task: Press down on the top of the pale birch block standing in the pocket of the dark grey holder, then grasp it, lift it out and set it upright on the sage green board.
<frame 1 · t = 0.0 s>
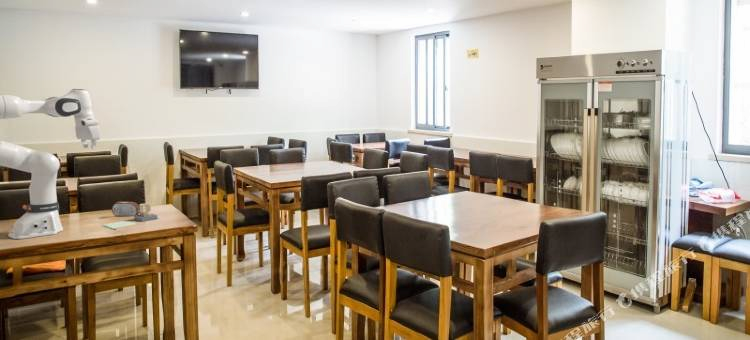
hand: (89, 148, 279), 39 cm above the table, tool pointing down, fingers open, 8 cm apart
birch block: (145, 219, 288), point 1 cm above the table, touching pocket holder
tin: (126, 217, 298), on the table
pocket holder: (146, 221, 288), on the table
green board: (120, 226, 277), on the table
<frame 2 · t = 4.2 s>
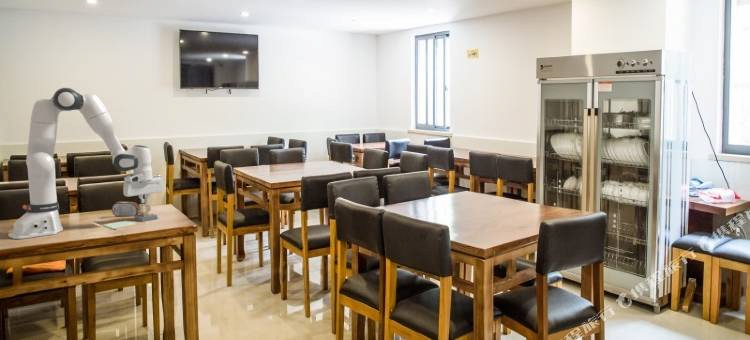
hand: (144, 202, 286), 10 cm above the table, tool pointing down, fingers closed
nothing on the table moved.
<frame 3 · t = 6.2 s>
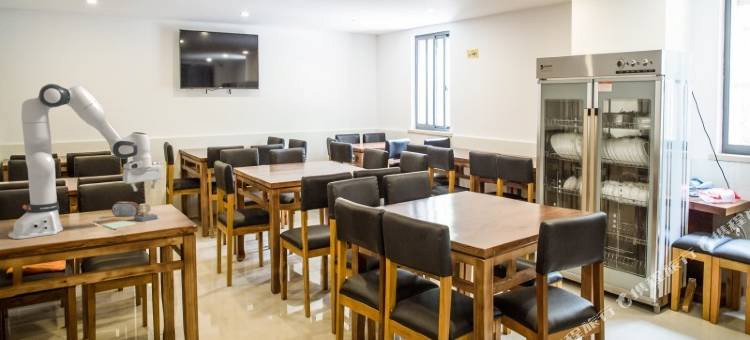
hand: (144, 189, 286), 17 cm above the table, tool pointing down, fingers open, 8 cm apart
nothing on the table moved.
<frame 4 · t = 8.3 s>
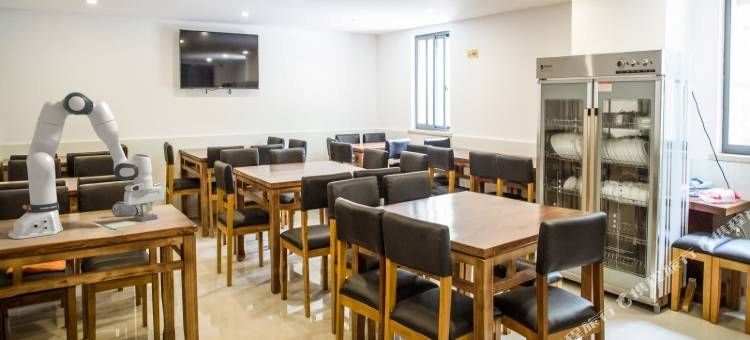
hand: (145, 211, 287), 5 cm above the table, tool pointing down, fingers closed on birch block, 4 cm apart
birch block: (145, 219, 288), point 1 cm above the table, touching gripper, pocket holder
everything else where it was.
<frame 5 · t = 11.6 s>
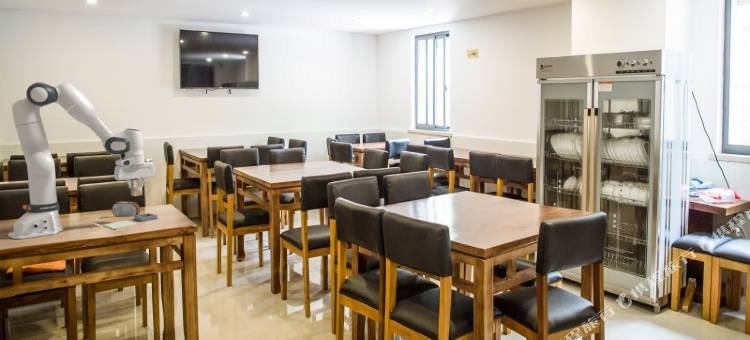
hand: (136, 187, 282), 18 cm above the table, tool pointing down, fingers closed on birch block, 4 cm apart
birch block: (136, 195, 283), point 14 cm above the table, touching gripper
everything else where it was.
when the fingers open (7 cm above the table, at t = 15.0 s): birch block drops 1 cm, resting on green board.
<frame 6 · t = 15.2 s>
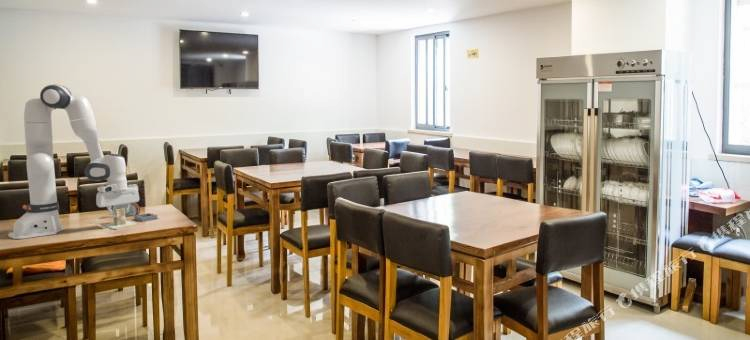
hand: (119, 213, 276), 7 cm above the table, tool pointing down, fingers open, 6 cm apart
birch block: (119, 224, 276), point 1 cm above the table, touching green board
everything else where it was.
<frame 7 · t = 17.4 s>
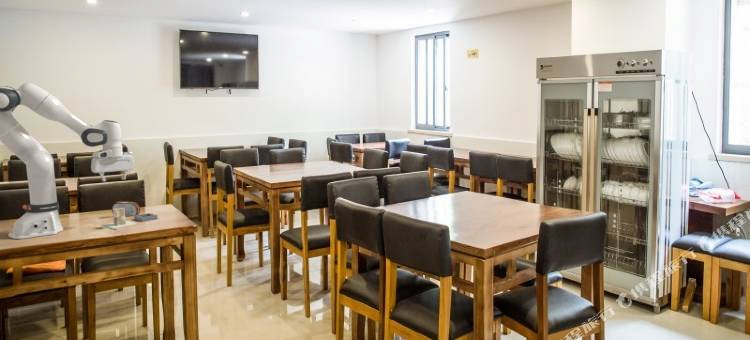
hand: (114, 180, 276), 23 cm above the table, tool pointing down, fingers open, 8 cm apart
nothing on the table moved.
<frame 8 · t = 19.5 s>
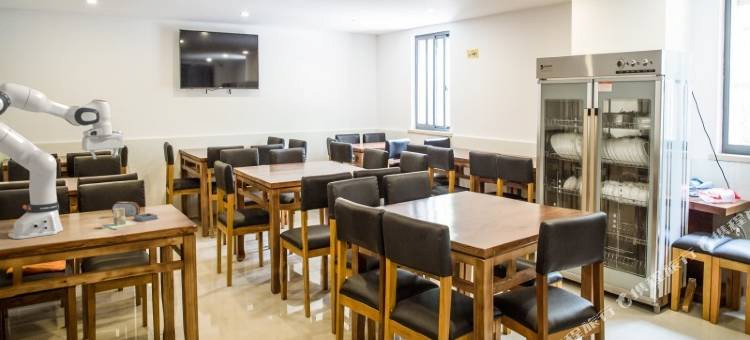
hand: (104, 158, 285), 33 cm above the table, tool pointing down, fingers open, 8 cm apart
nothing on the table moved.
at the end: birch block 0.1 cm off-centre on the green board, point 1.0 cm above the green board's base; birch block tilted 0°; the gripper is holding nothing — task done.
